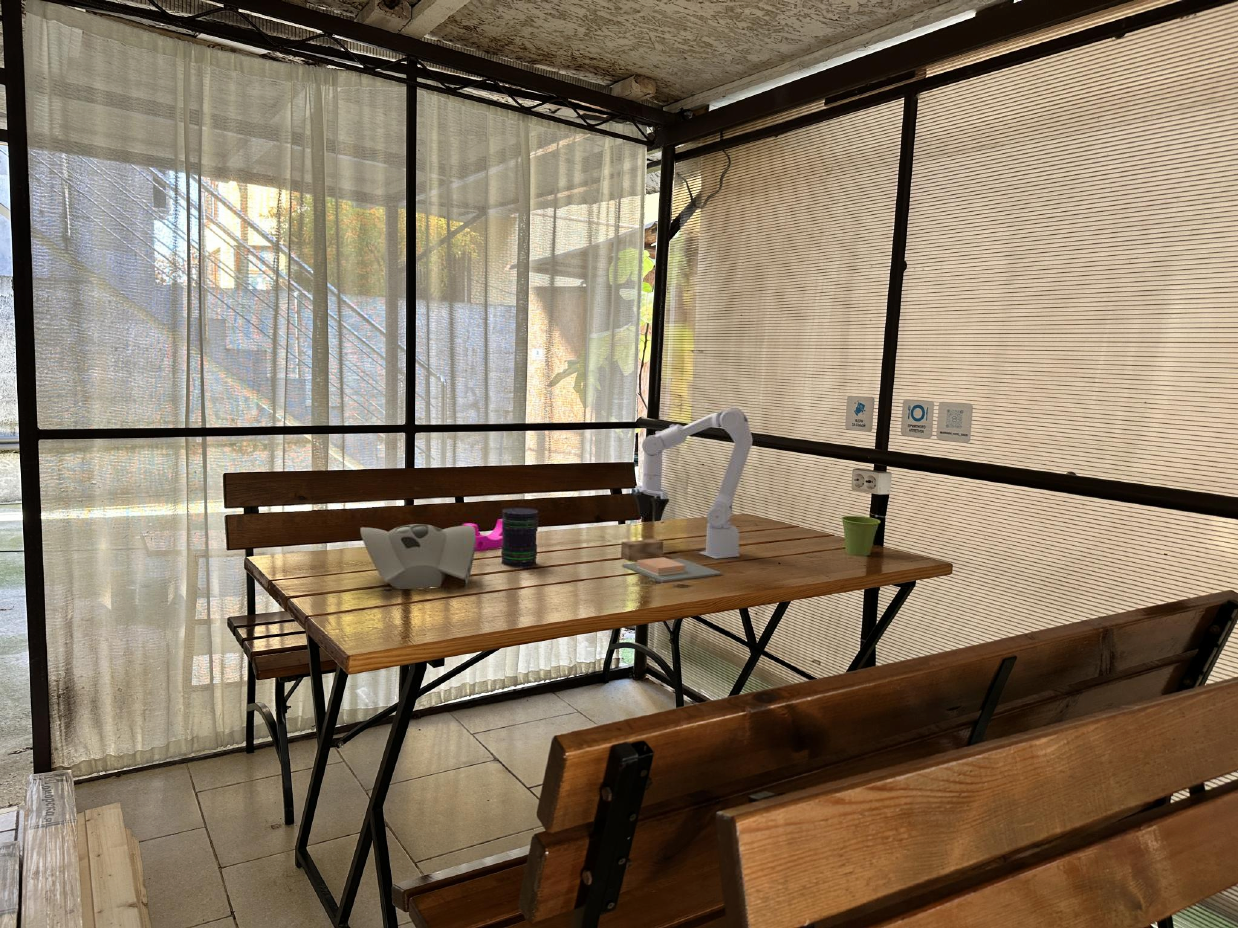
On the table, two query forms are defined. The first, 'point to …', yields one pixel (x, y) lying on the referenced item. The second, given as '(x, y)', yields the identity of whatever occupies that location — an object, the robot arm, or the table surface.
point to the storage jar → (519, 537)
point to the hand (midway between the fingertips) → (650, 518)
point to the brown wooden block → (641, 549)
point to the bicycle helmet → (422, 555)
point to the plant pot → (859, 534)
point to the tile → (661, 566)
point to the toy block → (488, 537)
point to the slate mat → (690, 573)
